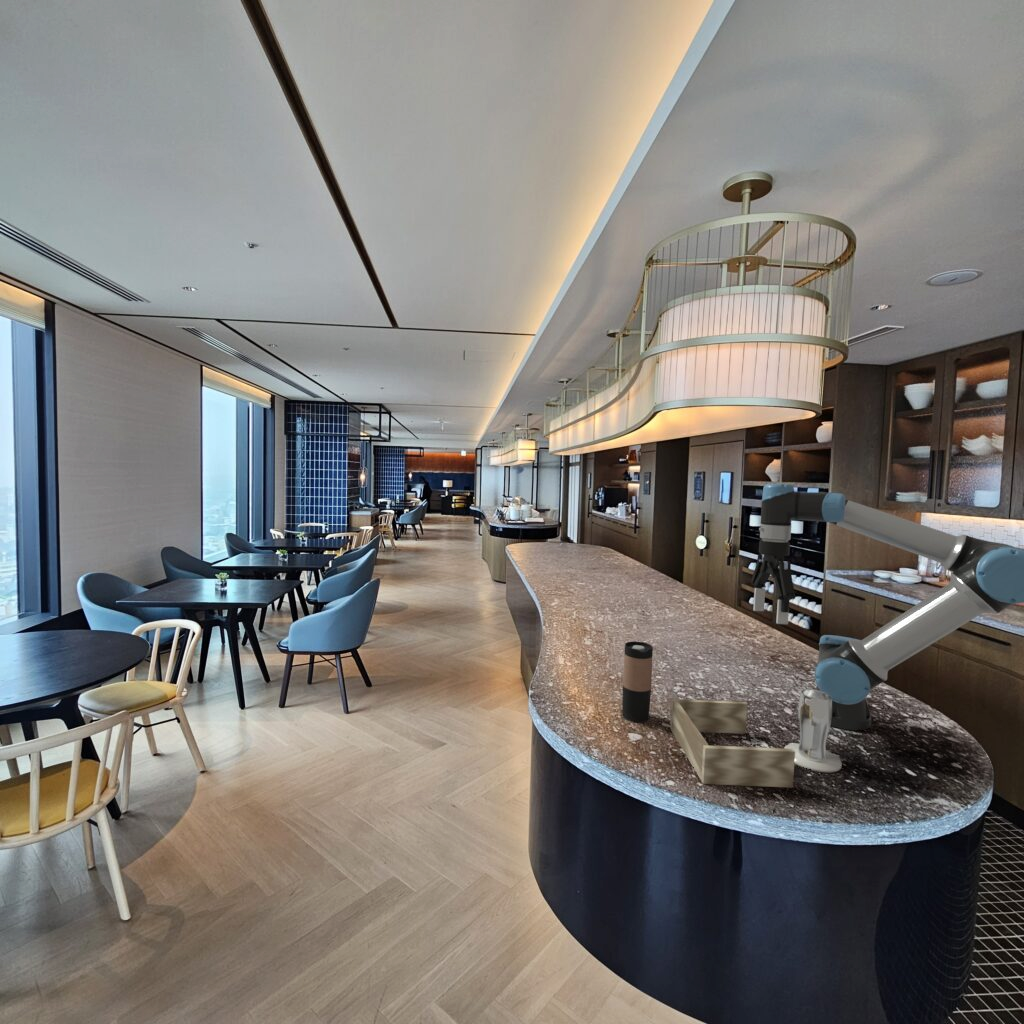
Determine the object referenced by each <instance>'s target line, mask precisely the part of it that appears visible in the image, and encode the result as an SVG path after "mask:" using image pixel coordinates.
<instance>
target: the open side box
mask: <svg viewBox="0 0 1024 1024" xmlns="http://www.w3.org/2000/svg"><path fill="white" fill-rule="evenodd" d="M747 712H748V703H747V702H746V701H732V700H731V701H730V700H729V701H728V700H708V699H707V700H706V699H705V700H704V699H701V700H700V699H679V698H674V699H673V698H671V709H670V727H669V728H670V731H671V732H672V735H673V736H674V738H675V739H676V741H677V742H678V744H679V746H680V748H681V749H682V751H683V752H684V754H685V756H686V757H687V759H688V760H689V762H690V764H691V766H692V768H693V767H694V768H693V769H694V771H695V773H696V772H697V773H696V775H698V777H699V779H700V781H701V783H702V784H703V785H717V786H719V785H721V786H722V785H723V786H741V787H742V786H744V787H745V786H746V787H748V786H749V787H770V788H771V787H773V788H794V775H795V773H794V772H795V763H794V762H795V751H794V750H793V749H785V748H781V747H760V746H759V747H758V746H757V747H756V746H755V747H753V746H735V745H734V746H729V745H709V743H708V742H707V741H706V739H705V738H704V736H703V735H702V733H713V734H714V733H716V734H719V733H720V734H722V733H723V734H743V735H744V734H745V735H746V732H747V730H746V729H747V714H748V713H747Z"/></svg>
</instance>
